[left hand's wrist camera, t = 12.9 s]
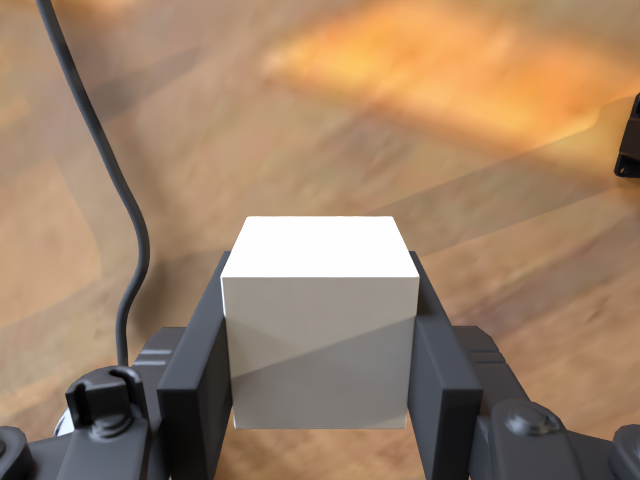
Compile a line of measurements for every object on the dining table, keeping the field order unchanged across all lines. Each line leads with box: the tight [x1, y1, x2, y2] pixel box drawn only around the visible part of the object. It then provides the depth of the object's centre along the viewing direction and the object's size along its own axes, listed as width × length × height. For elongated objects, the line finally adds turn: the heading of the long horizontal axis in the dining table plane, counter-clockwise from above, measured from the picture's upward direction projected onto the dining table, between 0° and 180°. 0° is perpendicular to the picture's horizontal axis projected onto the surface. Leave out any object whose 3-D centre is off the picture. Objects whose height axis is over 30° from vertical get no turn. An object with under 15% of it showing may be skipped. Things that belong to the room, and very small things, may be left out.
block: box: [221, 217, 420, 429], centre depth 13 cm, size 5×5×4 cm
